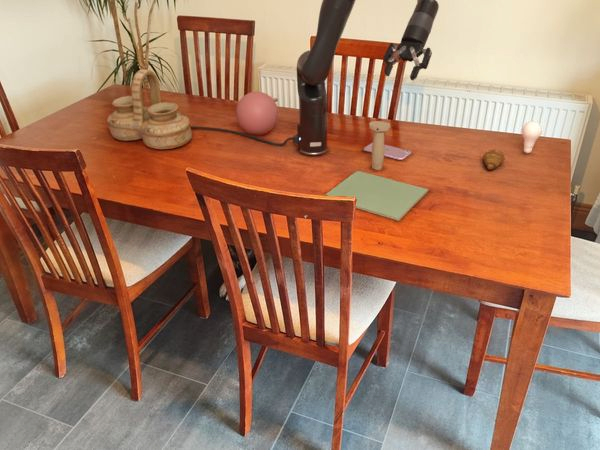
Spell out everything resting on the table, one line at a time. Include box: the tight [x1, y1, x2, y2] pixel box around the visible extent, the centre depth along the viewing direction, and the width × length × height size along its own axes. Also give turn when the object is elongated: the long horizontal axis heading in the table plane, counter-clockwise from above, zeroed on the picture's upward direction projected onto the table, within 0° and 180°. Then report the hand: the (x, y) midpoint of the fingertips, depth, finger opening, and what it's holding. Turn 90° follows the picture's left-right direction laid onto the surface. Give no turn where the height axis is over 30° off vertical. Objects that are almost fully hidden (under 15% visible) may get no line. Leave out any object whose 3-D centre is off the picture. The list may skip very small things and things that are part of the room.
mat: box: [324, 170, 429, 222], centre depth 161 cm, size 24×20×1 cm
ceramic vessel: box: [106, 68, 193, 150], centre depth 195 cm, size 34×18×25 cm, turn 61°
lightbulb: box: [521, 120, 543, 154], centre depth 181 cm, size 6×6×11 cm
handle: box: [368, 120, 391, 171], centre depth 172 cm, size 5×6×15 cm
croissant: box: [482, 148, 506, 171], centre depth 176 cm, size 14×7×5 cm, turn 155°
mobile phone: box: [363, 142, 412, 161], centre depth 186 cm, size 8×1×15 cm
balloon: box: [235, 91, 279, 136], centre depth 201 cm, size 15×20×15 cm
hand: (399, 77), depth 170 cm, fingers open, 8 cm apart
